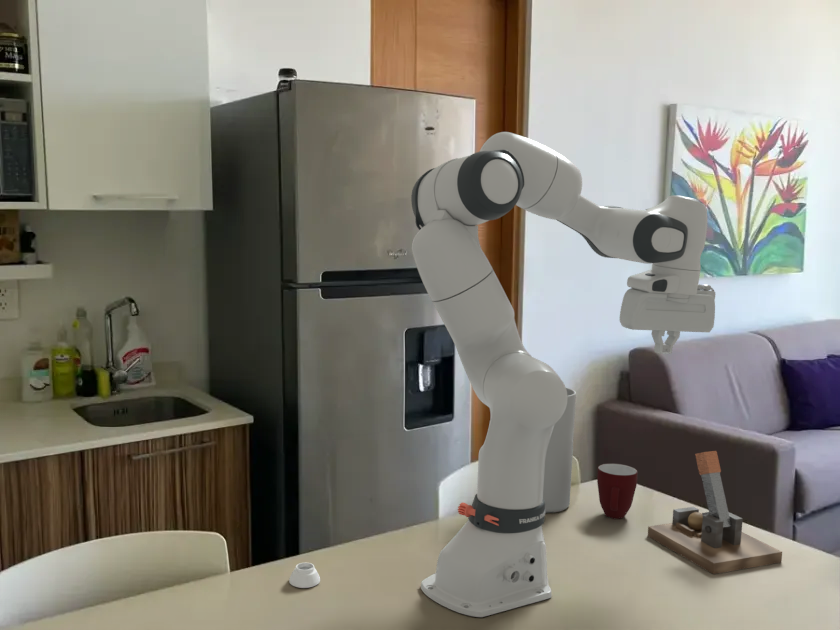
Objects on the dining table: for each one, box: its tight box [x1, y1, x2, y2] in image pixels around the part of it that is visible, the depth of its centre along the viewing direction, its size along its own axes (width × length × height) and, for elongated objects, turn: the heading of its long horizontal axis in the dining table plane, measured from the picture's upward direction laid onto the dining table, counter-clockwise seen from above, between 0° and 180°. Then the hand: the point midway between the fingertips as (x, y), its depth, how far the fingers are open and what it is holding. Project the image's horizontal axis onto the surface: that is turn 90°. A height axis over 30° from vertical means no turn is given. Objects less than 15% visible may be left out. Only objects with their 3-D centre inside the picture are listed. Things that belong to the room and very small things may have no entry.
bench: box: [647, 506, 783, 575], centre depth 153 cm, size 16×18×7 cm
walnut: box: [688, 512, 703, 531], centre depth 157 cm, size 4×4×4 cm
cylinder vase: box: [543, 387, 577, 514], centre depth 173 cm, size 12×12×25 cm
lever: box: [694, 450, 731, 527], centre depth 154 cm, size 3×5×14 cm, turn 23°
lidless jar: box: [288, 561, 321, 589], centre depth 133 cm, size 5×3×5 cm
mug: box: [596, 463, 638, 520], centre depth 167 cm, size 11×8×10 cm
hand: (662, 353), depth 156 cm, fingers closed
